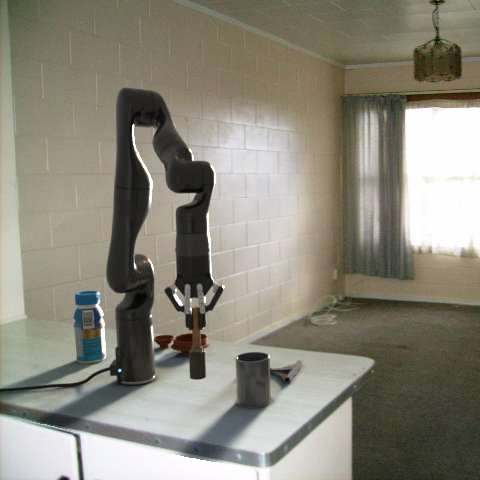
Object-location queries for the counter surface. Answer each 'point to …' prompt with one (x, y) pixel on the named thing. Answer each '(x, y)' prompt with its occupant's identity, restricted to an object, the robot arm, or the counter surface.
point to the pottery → (180, 342)
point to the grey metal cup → (253, 379)
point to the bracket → (287, 371)
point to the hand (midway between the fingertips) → (196, 329)
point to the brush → (197, 349)
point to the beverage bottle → (89, 328)
